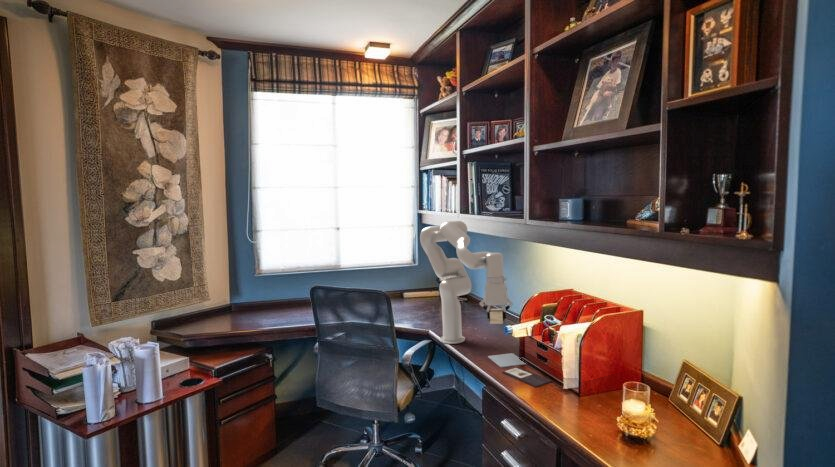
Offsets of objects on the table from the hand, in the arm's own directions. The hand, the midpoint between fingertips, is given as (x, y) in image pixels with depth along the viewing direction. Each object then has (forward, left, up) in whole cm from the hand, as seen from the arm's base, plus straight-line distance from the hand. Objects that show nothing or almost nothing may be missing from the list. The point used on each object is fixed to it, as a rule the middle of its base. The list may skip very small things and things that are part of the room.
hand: (496, 319), depth 204 cm
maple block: (0, 0, -1) cm, 1 cm away
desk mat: (+8, 0, -16) cm, 18 cm away
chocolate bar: (+29, -1, -17) cm, 33 cm away
